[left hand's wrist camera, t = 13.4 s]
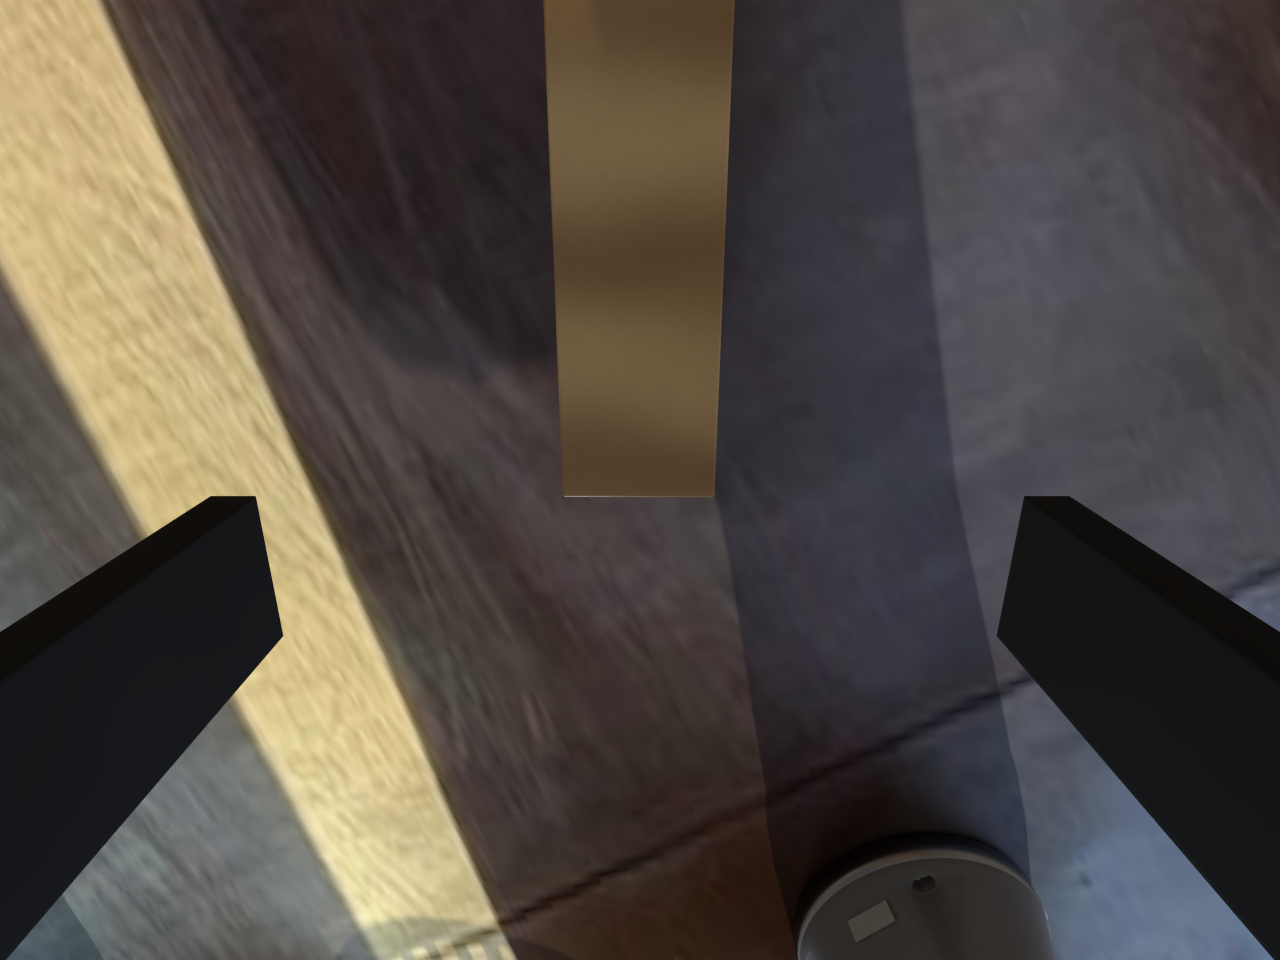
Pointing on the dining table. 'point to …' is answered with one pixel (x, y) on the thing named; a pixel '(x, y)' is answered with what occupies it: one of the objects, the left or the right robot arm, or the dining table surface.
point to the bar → (638, 238)
